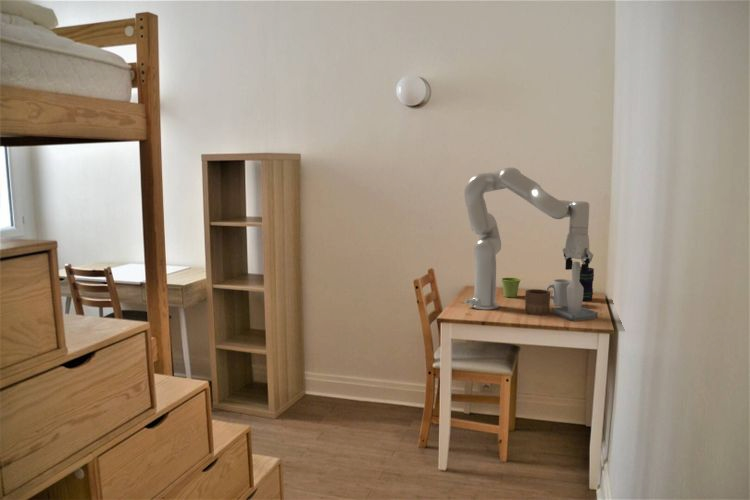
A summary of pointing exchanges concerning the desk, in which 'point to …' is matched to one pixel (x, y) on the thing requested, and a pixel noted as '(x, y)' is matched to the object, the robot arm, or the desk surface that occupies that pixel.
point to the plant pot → (510, 286)
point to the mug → (559, 291)
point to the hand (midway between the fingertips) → (576, 271)
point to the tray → (574, 317)
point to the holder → (537, 302)
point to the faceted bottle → (575, 291)
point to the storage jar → (587, 284)
